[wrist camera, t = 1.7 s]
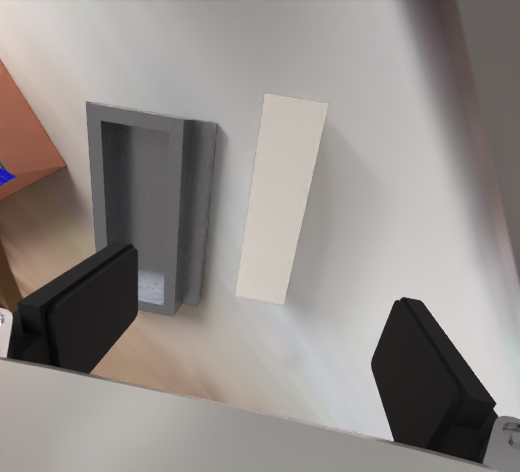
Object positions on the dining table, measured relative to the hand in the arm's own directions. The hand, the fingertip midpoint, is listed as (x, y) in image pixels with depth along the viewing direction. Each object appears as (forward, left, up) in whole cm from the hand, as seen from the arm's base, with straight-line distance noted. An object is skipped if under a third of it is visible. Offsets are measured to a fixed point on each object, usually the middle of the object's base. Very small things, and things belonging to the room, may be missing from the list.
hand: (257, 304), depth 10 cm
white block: (0, 0, -20) cm, 20 cm away
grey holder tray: (+5, -13, -20) cm, 24 cm away
